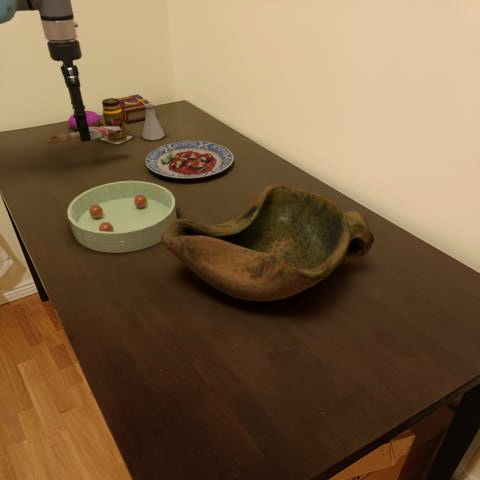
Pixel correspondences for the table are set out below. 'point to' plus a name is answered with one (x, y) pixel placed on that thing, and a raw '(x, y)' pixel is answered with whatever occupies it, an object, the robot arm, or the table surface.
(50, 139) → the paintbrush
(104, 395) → the table surface
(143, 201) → the bead
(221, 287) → the bowl
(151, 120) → the flask
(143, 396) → the table surface
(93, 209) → the bead
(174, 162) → the ceramic plate
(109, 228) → the bead
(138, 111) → the decorative book
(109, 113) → the condiment
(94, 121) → the donut
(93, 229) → the bowl
